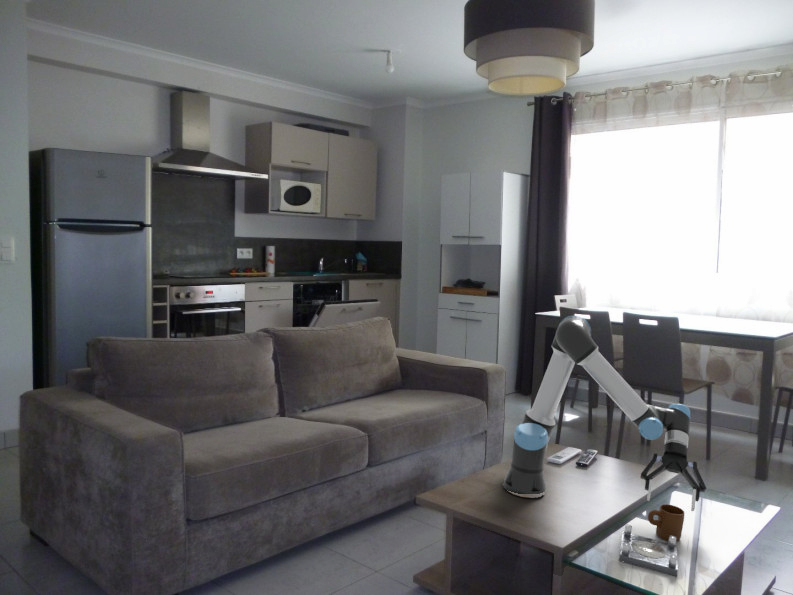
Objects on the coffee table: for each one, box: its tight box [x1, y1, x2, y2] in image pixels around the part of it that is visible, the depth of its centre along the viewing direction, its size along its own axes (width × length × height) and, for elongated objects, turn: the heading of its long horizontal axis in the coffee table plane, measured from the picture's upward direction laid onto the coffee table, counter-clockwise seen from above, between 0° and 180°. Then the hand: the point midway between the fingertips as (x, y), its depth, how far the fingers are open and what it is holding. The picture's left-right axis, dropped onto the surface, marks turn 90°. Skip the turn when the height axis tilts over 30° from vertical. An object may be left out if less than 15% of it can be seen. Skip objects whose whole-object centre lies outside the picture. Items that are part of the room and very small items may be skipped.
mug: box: [647, 504, 685, 542], centre depth 212 cm, size 12×8×9 cm, turn 102°
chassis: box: [618, 523, 679, 577], centre depth 199 cm, size 16×16×5 cm
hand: (670, 504), depth 215 cm, fingers open, 13 cm apart
